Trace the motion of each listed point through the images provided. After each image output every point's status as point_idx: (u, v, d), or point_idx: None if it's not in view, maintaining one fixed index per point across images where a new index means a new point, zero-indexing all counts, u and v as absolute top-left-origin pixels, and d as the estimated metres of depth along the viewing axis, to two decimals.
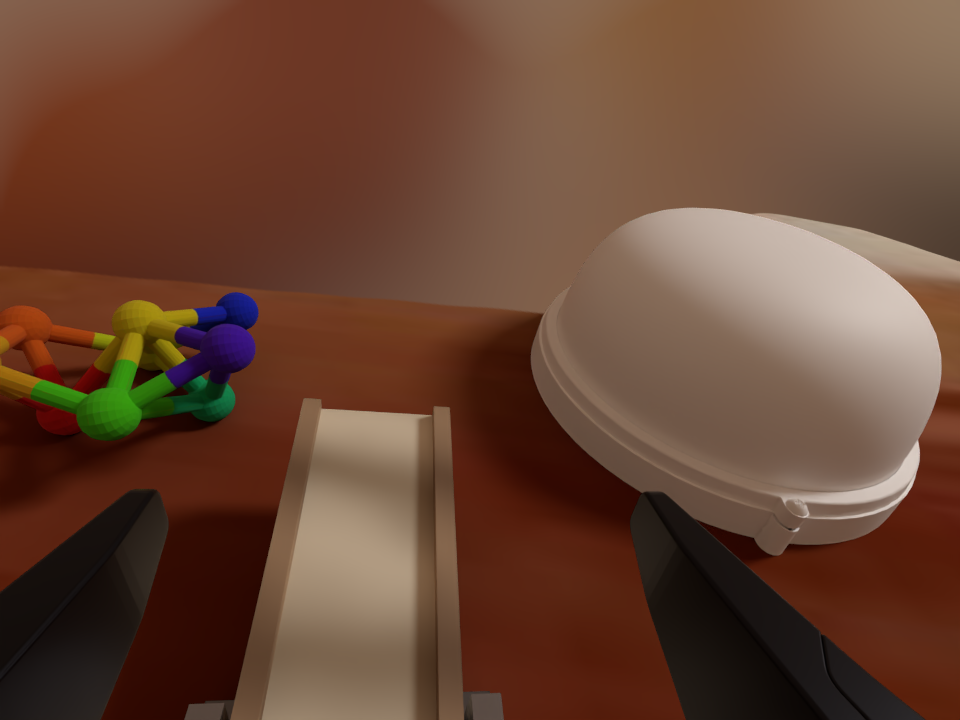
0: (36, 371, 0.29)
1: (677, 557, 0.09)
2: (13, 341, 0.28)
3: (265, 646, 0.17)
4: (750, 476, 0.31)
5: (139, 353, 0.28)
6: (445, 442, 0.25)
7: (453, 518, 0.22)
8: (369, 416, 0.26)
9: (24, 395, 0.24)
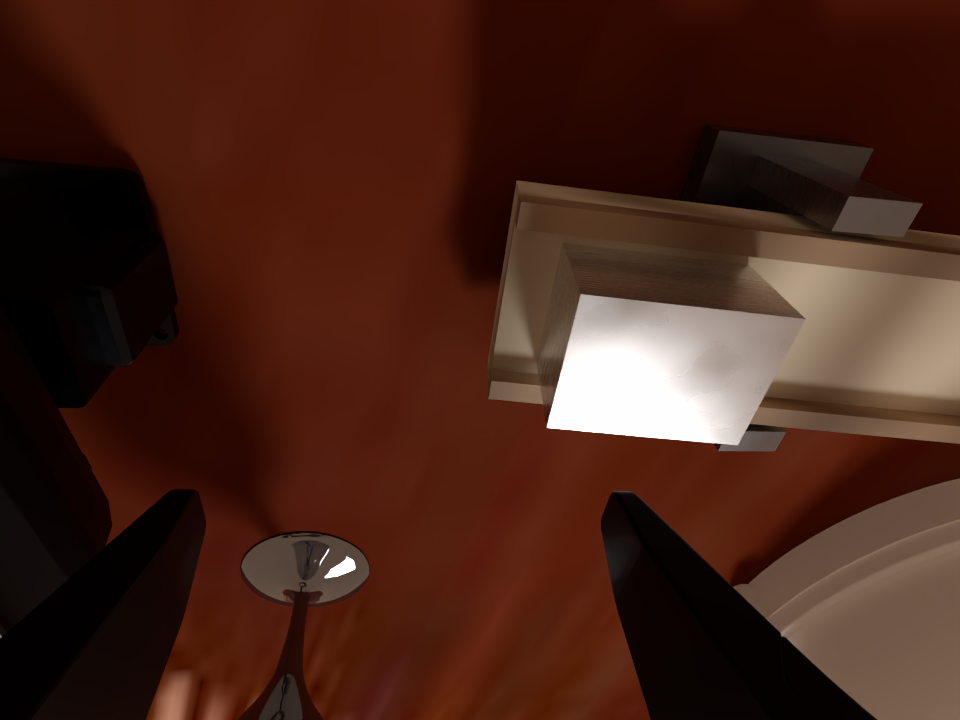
0: None
1: (643, 558, 0.09)
2: None
3: (936, 271, 0.16)
4: (809, 623, 0.33)
5: None
6: None
7: (952, 441, 0.20)
8: None
9: None
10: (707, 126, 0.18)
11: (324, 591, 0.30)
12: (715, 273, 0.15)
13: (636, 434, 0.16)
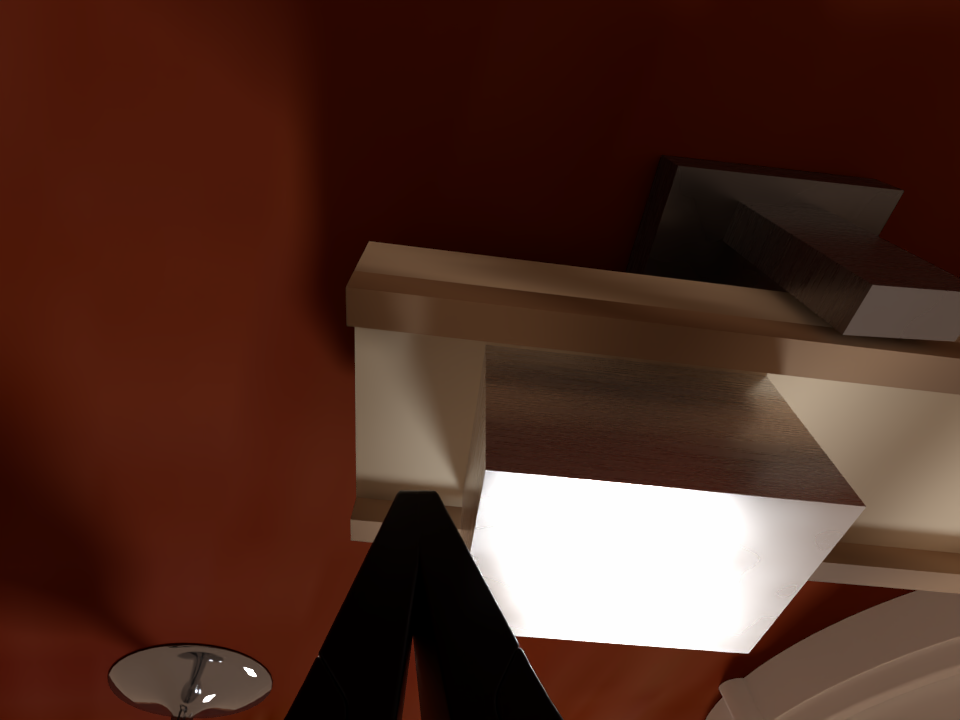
0: None
1: None
2: None
3: None
4: None
5: None
6: None
7: None
8: None
9: None
10: (663, 158, 0.13)
11: (214, 707, 0.25)
12: (716, 401, 0.10)
13: (594, 639, 0.10)
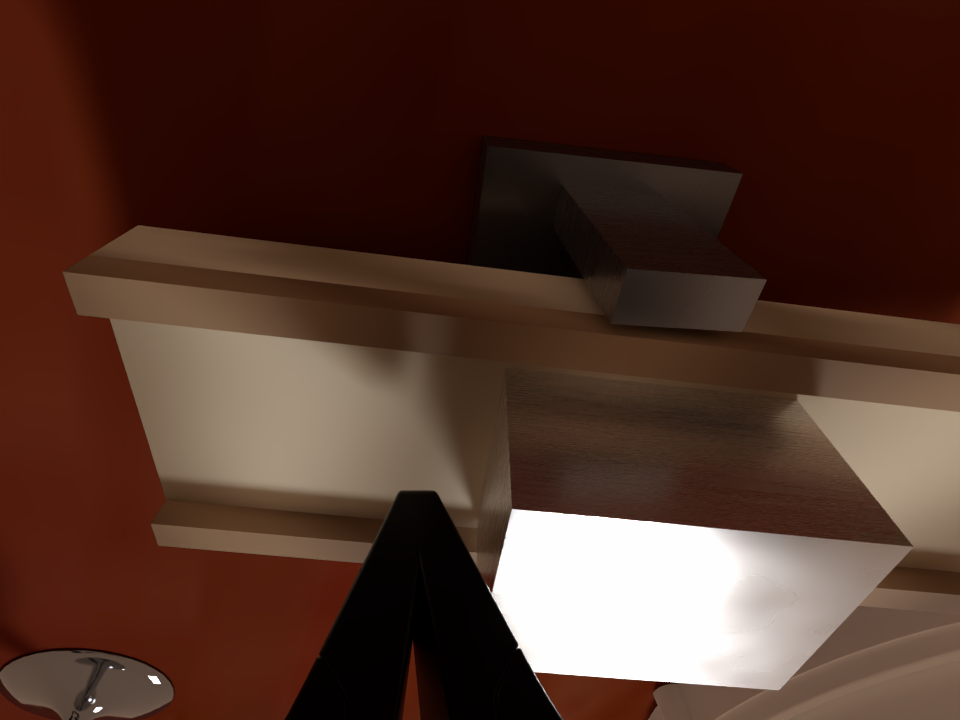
0: None
1: None
2: None
3: (806, 385, 0.10)
4: None
5: None
6: None
7: (868, 605, 0.13)
8: None
9: None
10: (483, 138, 0.12)
11: (111, 714, 0.24)
12: (747, 428, 0.10)
13: (618, 675, 0.10)
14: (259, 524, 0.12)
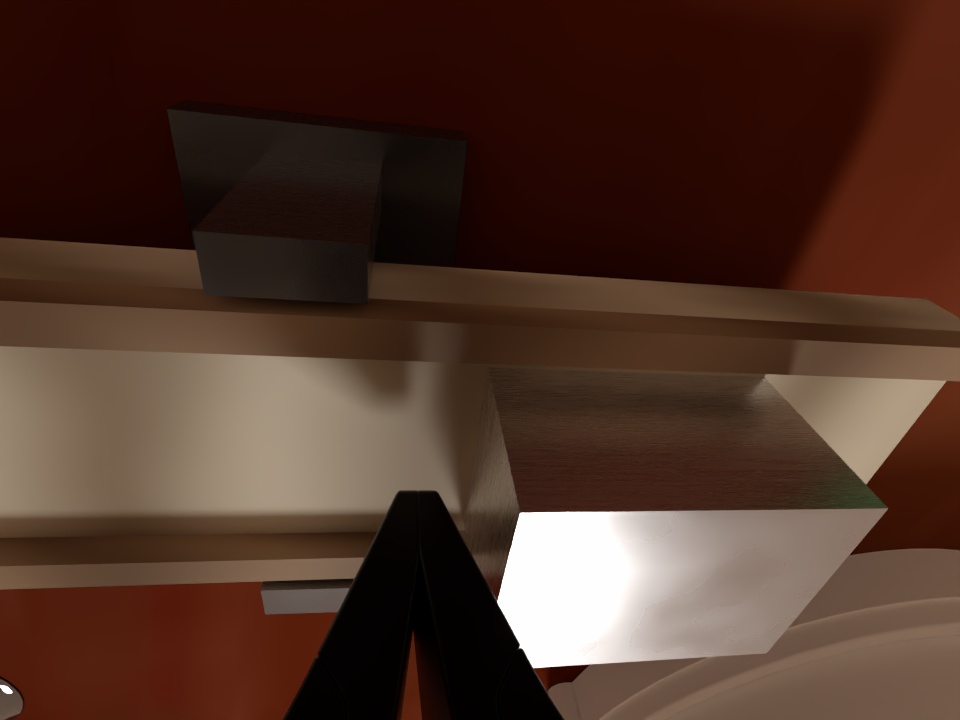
0: None
1: None
2: None
3: (469, 352, 0.09)
4: None
5: None
6: None
7: None
8: (888, 441, 0.13)
9: None
10: (181, 103, 0.11)
11: None
12: (725, 409, 0.10)
13: (619, 659, 0.10)
14: None
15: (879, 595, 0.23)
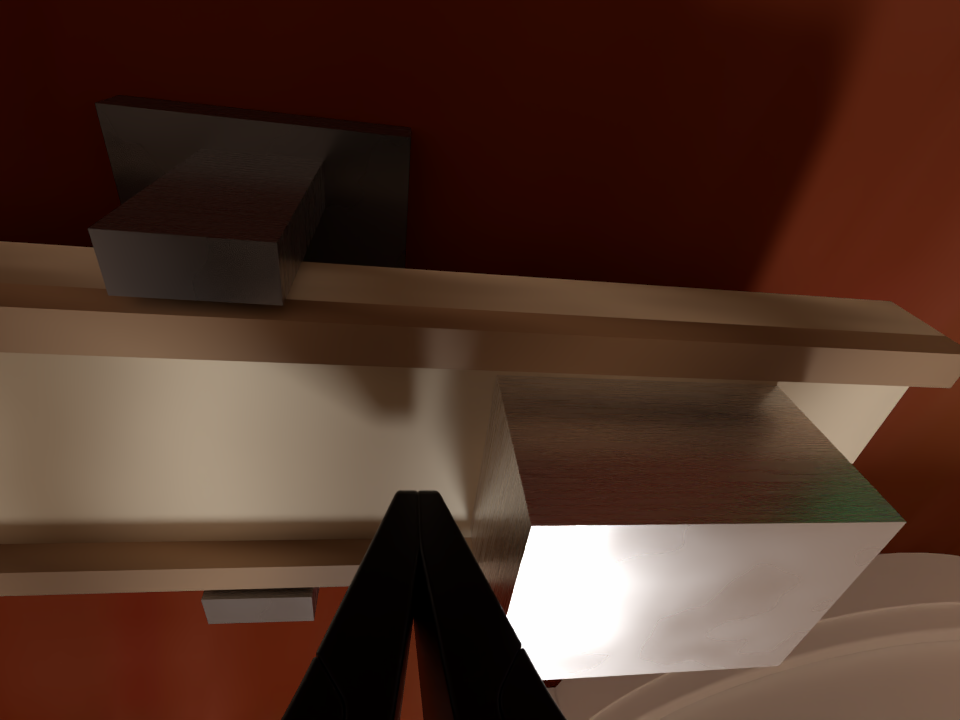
0: None
1: (418, 561, 0.08)
2: None
3: (396, 356, 0.09)
4: None
5: None
6: None
7: None
8: (852, 448, 0.12)
9: None
10: (115, 98, 0.11)
11: None
12: (738, 418, 0.10)
13: (629, 671, 0.10)
14: None
15: (864, 600, 0.22)
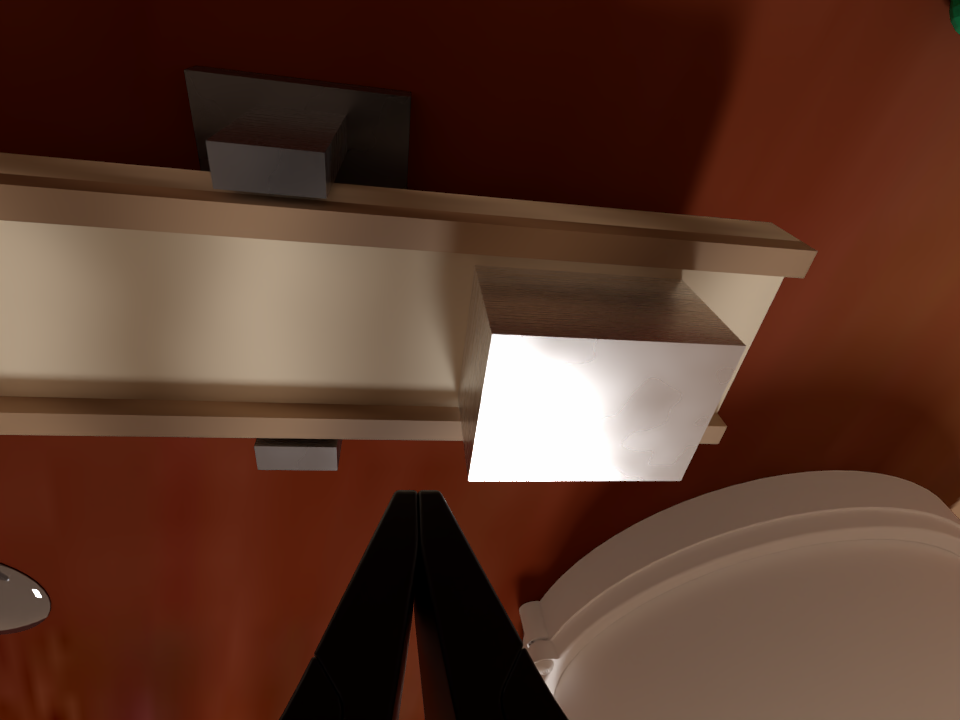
0: None
1: (419, 561, 0.08)
2: None
3: (402, 240, 0.13)
4: (587, 648, 0.29)
5: None
6: None
7: None
8: (745, 336, 0.16)
9: None
10: None
11: None
12: (645, 294, 0.14)
13: (570, 479, 0.14)
14: (3, 406, 0.14)
15: (799, 506, 0.26)
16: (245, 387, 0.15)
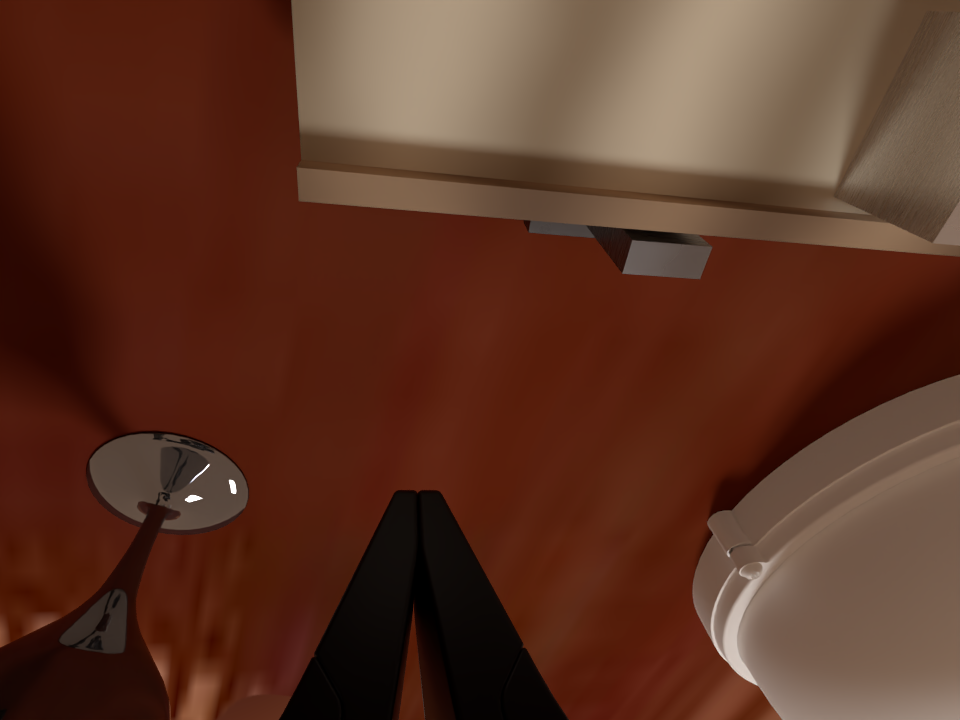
0: None
1: (420, 561, 0.08)
2: None
3: None
4: (802, 549, 0.28)
5: None
6: None
7: (916, 250, 0.16)
8: None
9: None
10: None
11: (191, 511, 0.25)
12: None
13: None
14: (397, 174, 0.13)
15: None
16: (632, 170, 0.14)
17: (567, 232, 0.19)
